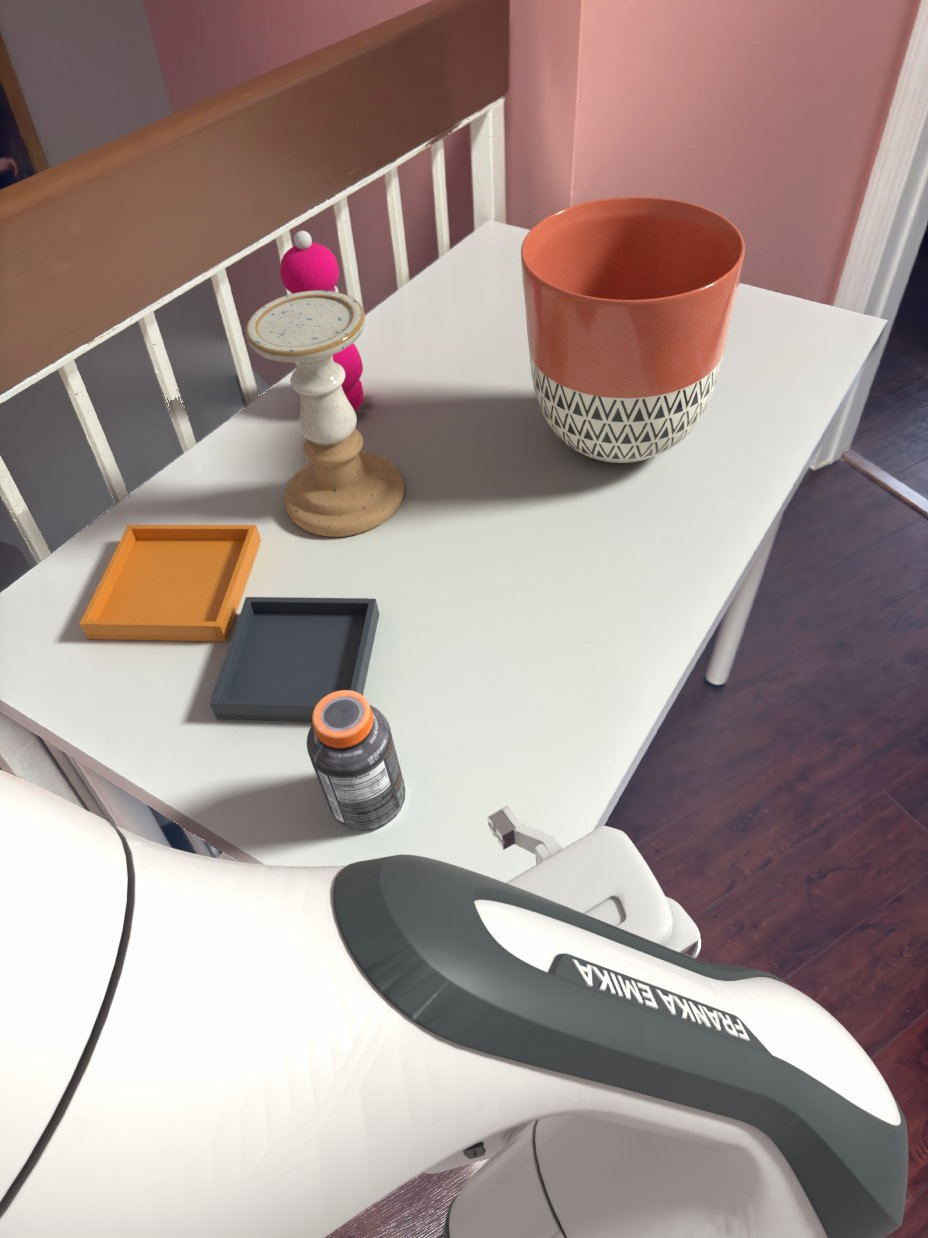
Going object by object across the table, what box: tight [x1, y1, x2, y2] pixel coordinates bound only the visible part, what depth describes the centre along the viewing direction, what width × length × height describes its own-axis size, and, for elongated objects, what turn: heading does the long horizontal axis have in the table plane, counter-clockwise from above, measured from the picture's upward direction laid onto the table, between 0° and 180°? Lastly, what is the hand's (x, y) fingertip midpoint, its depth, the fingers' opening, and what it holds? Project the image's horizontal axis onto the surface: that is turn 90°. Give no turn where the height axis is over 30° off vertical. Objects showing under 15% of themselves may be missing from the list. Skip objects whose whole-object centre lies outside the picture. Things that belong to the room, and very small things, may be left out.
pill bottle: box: [306, 690, 406, 832], centre depth 65 cm, size 6×6×11 cm
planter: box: [520, 196, 746, 464], centre depth 88 cm, size 20×20×21 cm
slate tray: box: [209, 596, 380, 722], centre depth 78 cm, size 12×12×2 cm
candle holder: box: [245, 290, 405, 538], centre depth 86 cm, size 12×12×20 cm
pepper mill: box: [279, 230, 365, 412], centre depth 98 cm, size 7×7×20 cm
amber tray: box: [78, 524, 262, 642], centre depth 86 cm, size 13×13×2 cm
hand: (431, 853), depth 55 cm, fingers open, 8 cm apart
